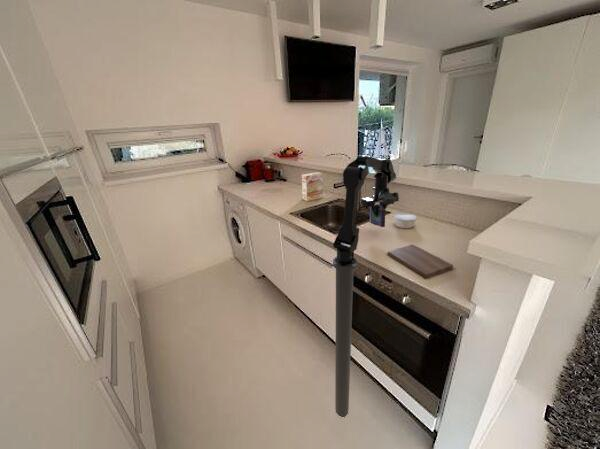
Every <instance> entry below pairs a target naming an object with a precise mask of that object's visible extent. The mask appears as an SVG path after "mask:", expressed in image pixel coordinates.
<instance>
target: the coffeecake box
mask: <svg viewBox="0 0 600 449" xmlns="http://www.w3.org/2000/svg"><path fill="white" fill-rule="evenodd" d="M323 179H324V178H323V172H319V171H317V172H310V173H304V174H303V173H302V174H301V191H302V200H303V201H305V202H309V201H315V200H318V199H322V198H324V193H323V192H324V188H323V186H324V185H323V182H324V181H323Z"/></svg>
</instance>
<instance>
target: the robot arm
mask: <svg viewBox="0 0 600 449" xmlns="http://www.w3.org/2000/svg"><path fill="white" fill-rule="evenodd" d="M393 166H394V165H393V162H392V159H391V158H376V157H373V156H370V155H358V156H357V157H356V158H355V159H354V160H353V161H351V162H350V163H348V164H347V166H346V167H345V168H344V170H343V172H342V182H343V186H344V188H345V190H346V191H345V200H344V212H343V221H342V224H341V226H339V228H338V232H337V235H336V237H335V240H334V241H333V243H332V247H333V249H336V257H337V258H335V257H334V258H335V260H336V261H337V262H338V263H339V264H340V265H341V266H345V265H349V264H352V263H355V261H354V260H353V259H354V258H355V251H356V250H357V249H358V244H359V240H360V239H359V238H360V236H359V234H360V228H359V227H357V224H356V222H357V221H356V219H357V212H358V211H357V210H358V203H359V195H360V190H361V189H362V187H363V185H364V184H365V179H366V178H367V176H368V175H369V174H370V169H369V168H372V170H373V171H375V172H376V173H375V174H374V176H373V178H374V187H372V190H373V191H374V194H373V195H372V198H370V197H365V198H364V197H363V198H362V199H361V200H360V205H361V206H364V207H367V208H370V207H371V208H372V210H373V212H374V215H375V217H377V216H378V208H379V207H381V208H383V209H385V210H387V207H388V206H389V205H394V204H395V203H396V202H399V199H400V197H399V193H398V192H396V191H395V192H390V188H389V187H388V184H390V183H393V182H394V181H395V180H396V179H397V174H396V171H395V169H394V167H393ZM378 204H380V205H378Z"/></svg>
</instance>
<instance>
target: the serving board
mask: <svg viewBox="0 0 600 449" xmlns="http://www.w3.org/2000/svg"><path fill="white" fill-rule="evenodd" d="M387 256H388V257H391V258H392V259H394V260H396V261H397V262H399V263H401V264H402V265H403V266H405V267H407V268H409V270H412V271H413V272H414V273H416V274H418V275H420V276H421V277H423V278H424V279H429V278H431V277H433V276H436V275H439V274H441V273H444V272H447V271H450V270H453V267H454V264H452V263H450V262H448V261H446V260H444V259H442V258H440V257H438V256H436V255H434V254H432V253H431V252H428V251H426V250H424V249H422V248H420V247H418V246H417V245H415V244H409V245H405V246H402V247H398V248H395V249H391V250H388V251H387Z"/></svg>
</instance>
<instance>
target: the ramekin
mask: <svg viewBox="0 0 600 449" xmlns="http://www.w3.org/2000/svg"><path fill="white" fill-rule="evenodd" d="M393 217H394V224H395V226H396V227H398V228H402V229H412V228H413V227H414V226H415V224H416V221H417V216H416V215H414V214H411V213H407V212H406V213H405V212H401V213H400V212H399V213H396V214H394V216H393Z"/></svg>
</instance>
